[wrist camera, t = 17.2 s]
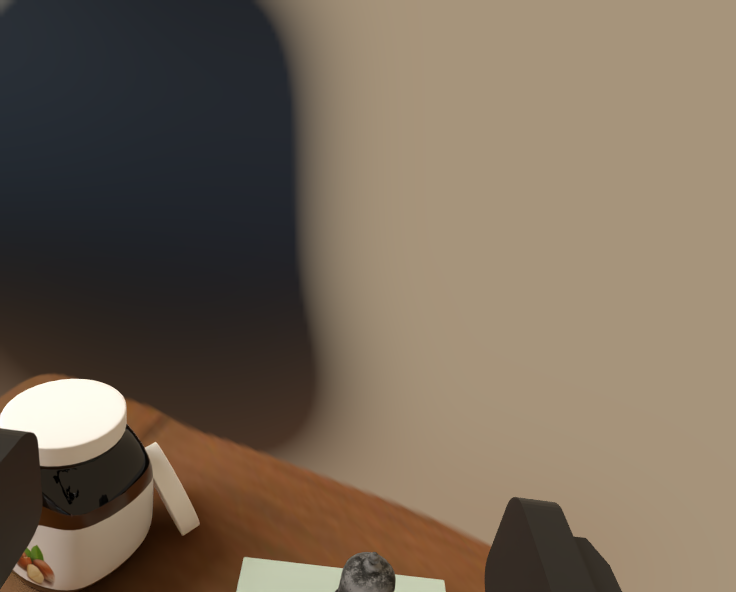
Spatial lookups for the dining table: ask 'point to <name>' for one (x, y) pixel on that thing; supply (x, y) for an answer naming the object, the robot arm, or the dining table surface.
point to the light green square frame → (312, 578)
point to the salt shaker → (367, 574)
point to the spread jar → (90, 484)
